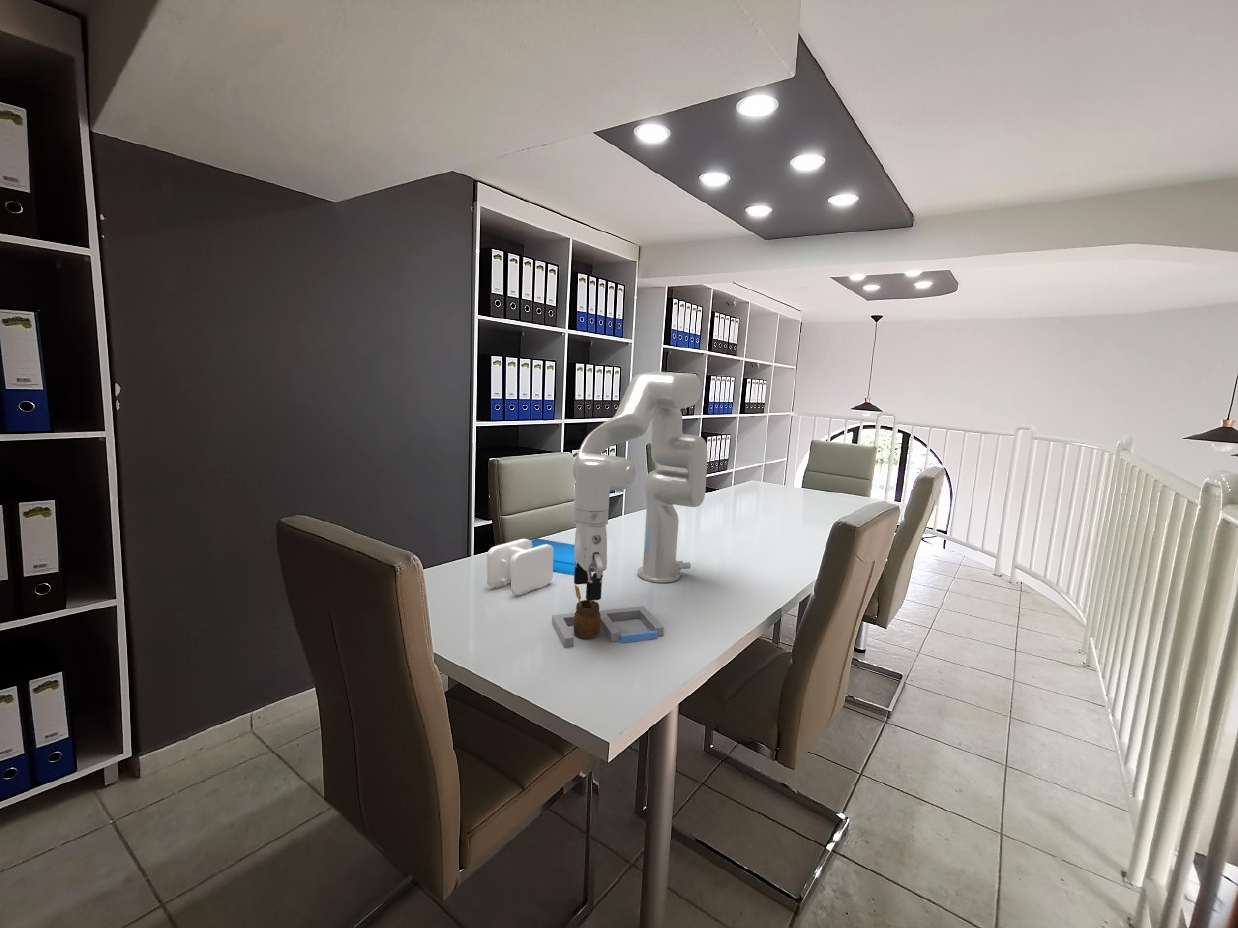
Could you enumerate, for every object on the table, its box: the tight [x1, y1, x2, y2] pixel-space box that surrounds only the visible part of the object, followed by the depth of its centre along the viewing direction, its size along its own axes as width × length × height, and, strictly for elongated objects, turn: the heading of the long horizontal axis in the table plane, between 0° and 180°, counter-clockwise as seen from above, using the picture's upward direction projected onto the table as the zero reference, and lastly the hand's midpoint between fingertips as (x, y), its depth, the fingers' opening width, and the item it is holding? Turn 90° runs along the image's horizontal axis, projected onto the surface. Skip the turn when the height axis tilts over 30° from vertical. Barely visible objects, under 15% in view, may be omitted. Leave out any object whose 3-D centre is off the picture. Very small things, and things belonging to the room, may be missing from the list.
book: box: [530, 538, 595, 576], centre depth 172 cm, size 17×4×25 cm
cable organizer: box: [486, 538, 554, 596], centre depth 150 cm, size 15×11×12 cm
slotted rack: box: [551, 605, 665, 648], centre depth 127 cm, size 23×13×2 cm, turn 110°
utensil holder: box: [573, 584, 601, 640], centre depth 124 cm, size 6×6×12 cm
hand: (586, 591), depth 123 cm, fingers open, 9 cm apart
